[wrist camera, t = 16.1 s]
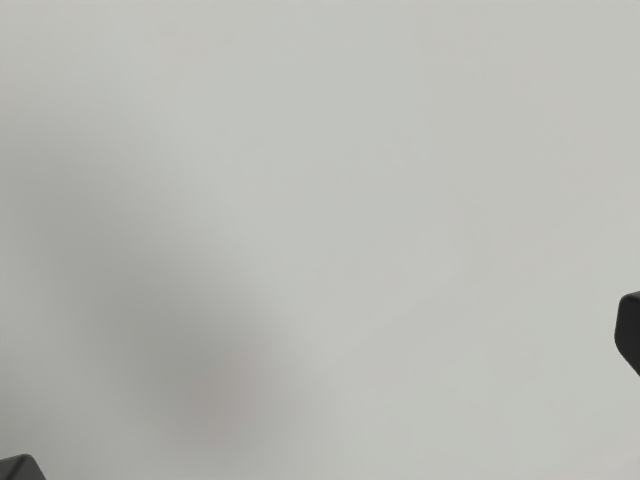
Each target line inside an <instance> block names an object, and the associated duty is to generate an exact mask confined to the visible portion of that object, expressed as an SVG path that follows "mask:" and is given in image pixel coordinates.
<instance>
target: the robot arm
mask: <svg viewBox="0 0 640 480" xmlns="http://www.w3.org/2000/svg"><path fill="white" fill-rule="evenodd" d="M614 338H615V343H616V346H617V348H618V350H619V352H620V353H621V355H622V356H623V357H624V358H625V360H626V361H627V362H628V363H629V364H630V366H631V367H632V368H633V369H634V370H635V371H636V373H637V374H638V375H639V376H640V291H638V292H634V293H630V294H627V295H625V296H623V297H622V298H621V300H620V302H619V307H618V314H617V321H616V327H615V334H614ZM0 480H46V478H45V477H44V475H43V473H42V471H41V470H40V468H39V466H38V465H37V463H36V461H35V460H34V458H33V457H32V456H31V455H29V454H21V455H17V456H14V457H10V458H6V459H2V460H0Z"/></svg>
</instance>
